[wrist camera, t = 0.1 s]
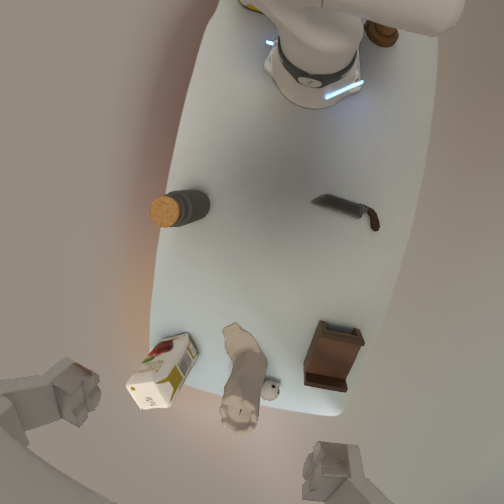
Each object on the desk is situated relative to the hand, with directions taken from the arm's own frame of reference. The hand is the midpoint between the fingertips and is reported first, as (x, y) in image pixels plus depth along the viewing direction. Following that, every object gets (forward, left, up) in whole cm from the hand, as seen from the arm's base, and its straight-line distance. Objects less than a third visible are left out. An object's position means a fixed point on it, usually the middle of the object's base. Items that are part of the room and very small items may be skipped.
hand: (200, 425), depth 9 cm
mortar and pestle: (-46, +12, -48) cm, 67 cm away
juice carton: (+31, -14, -48) cm, 59 cm away
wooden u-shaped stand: (+21, +18, -48) cm, 55 cm away
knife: (-7, +12, -48) cm, 50 cm away
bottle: (-1, -16, -48) cm, 51 cm away
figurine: (+34, +8, -48) cm, 60 cm away
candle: (+27, 0, -48) cm, 55 cm away
